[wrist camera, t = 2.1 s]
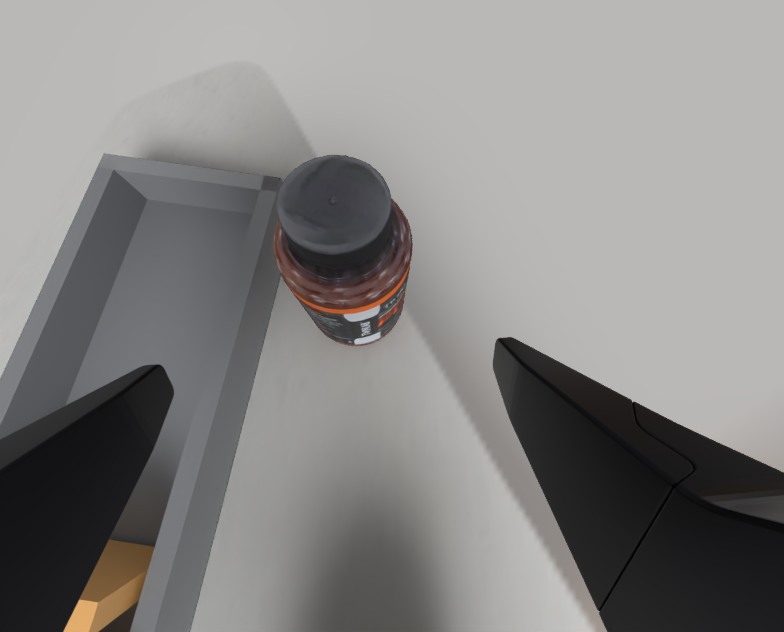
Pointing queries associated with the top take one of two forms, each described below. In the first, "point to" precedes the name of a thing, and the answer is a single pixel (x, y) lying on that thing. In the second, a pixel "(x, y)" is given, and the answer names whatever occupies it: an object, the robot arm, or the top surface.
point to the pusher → (111, 586)
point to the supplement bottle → (343, 248)
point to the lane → (158, 346)
